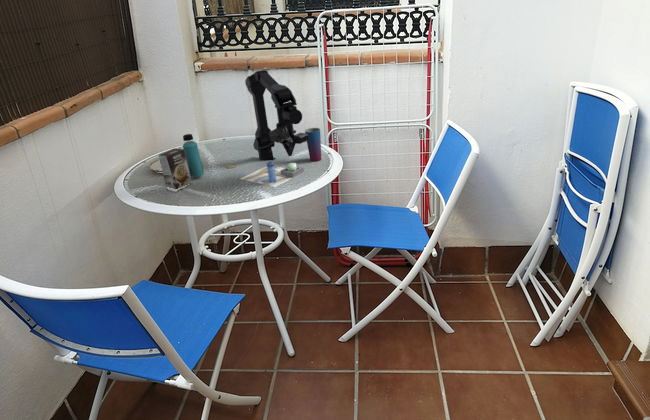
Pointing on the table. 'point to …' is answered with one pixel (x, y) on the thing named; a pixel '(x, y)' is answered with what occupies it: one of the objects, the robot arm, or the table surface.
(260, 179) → the beige flat board
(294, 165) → the button
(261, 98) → the robot arm
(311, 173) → the table surface
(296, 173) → the button housing
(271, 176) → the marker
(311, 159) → the cup
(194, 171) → the beverage bottle
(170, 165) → the coffee box
